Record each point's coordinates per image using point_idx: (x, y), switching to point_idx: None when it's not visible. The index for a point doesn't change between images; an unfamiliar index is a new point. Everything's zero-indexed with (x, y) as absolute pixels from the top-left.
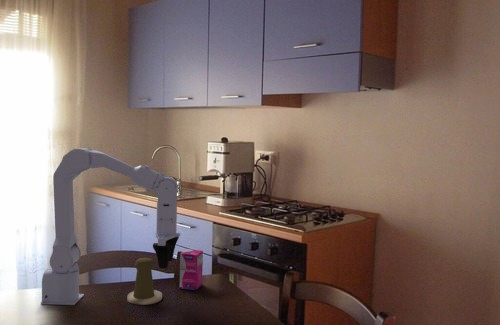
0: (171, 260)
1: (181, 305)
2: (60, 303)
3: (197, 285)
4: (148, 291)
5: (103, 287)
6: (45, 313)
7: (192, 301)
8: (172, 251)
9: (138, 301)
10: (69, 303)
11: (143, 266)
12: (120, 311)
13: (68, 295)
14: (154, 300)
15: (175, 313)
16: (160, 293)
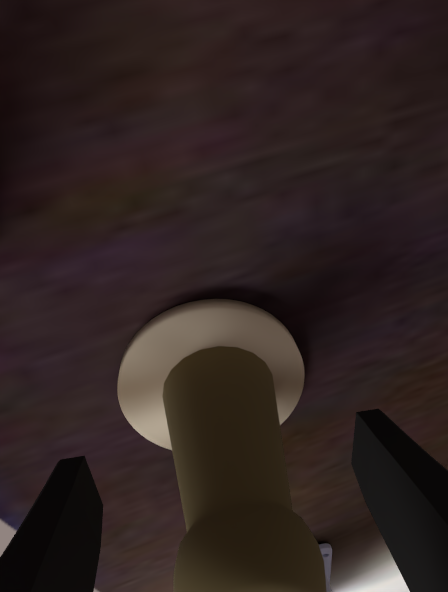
0: (84, 461)
1: (285, 154)
2: (330, 572)
3: None
4: (261, 385)
5: (117, 552)
6: (393, 562)
7: (199, 93)
8: (47, 576)
9: (303, 383)
10: (330, 556)
11: (322, 560)
12: (381, 404)
13: (326, 589)
14: (275, 322)
15: (417, 155)
16: (167, 329)
